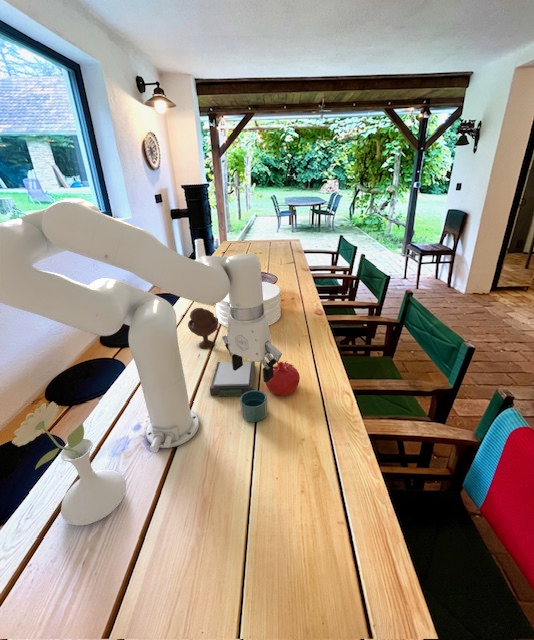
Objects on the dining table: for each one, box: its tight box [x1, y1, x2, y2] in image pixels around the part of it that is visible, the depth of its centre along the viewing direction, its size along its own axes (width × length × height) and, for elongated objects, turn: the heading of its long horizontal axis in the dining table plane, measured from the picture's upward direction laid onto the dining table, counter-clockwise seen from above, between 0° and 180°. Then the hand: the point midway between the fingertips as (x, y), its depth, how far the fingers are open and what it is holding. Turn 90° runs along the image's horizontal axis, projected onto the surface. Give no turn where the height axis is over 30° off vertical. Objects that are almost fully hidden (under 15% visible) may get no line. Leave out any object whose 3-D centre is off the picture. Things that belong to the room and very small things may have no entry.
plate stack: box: [215, 281, 282, 328], centre depth 140 cm, size 28×28×12 cm
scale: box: [209, 360, 256, 397], centre depth 97 cm, size 15×12×3 cm
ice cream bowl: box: [187, 307, 219, 350], centre depth 116 cm, size 11×11×15 cm
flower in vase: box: [11, 400, 127, 526], centre depth 57 cm, size 13×11×25 cm
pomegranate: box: [265, 360, 301, 397], centre depth 91 cm, size 10×10×9 cm
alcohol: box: [194, 238, 207, 260], centre depth 156 cm, size 9×9×30 cm
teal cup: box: [239, 389, 269, 423], centre depth 83 cm, size 7×7×5 cm
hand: (252, 373), depth 80 cm, fingers open, 9 cm apart
